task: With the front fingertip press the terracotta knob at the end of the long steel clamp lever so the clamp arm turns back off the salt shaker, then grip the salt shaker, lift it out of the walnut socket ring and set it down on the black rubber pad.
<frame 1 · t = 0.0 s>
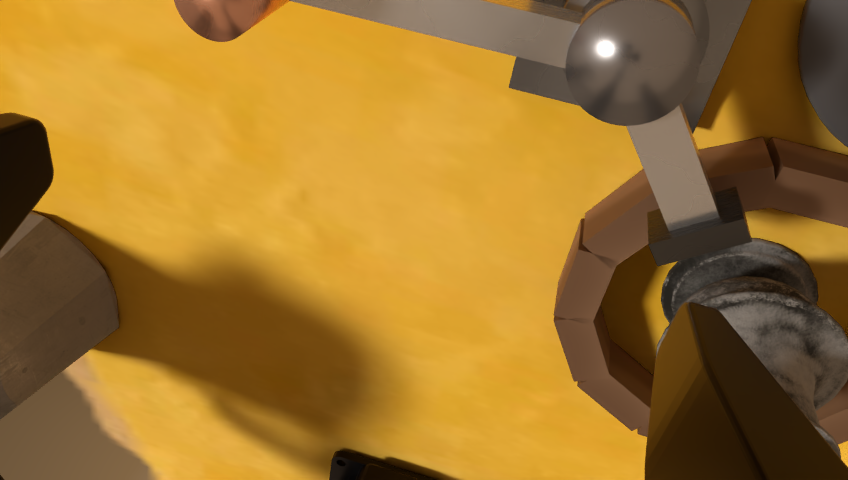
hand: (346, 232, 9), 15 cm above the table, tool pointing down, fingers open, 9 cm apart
socket ring: (736, 297, 25), on the table
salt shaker: (736, 293, 26), resting in socket ring
pivot block: (630, 13, 21), on the table
coffeepot: (53, 292, 35), on the table
clamp: (489, 111, 18), point 5 cm above the table, hinge at 0.0°
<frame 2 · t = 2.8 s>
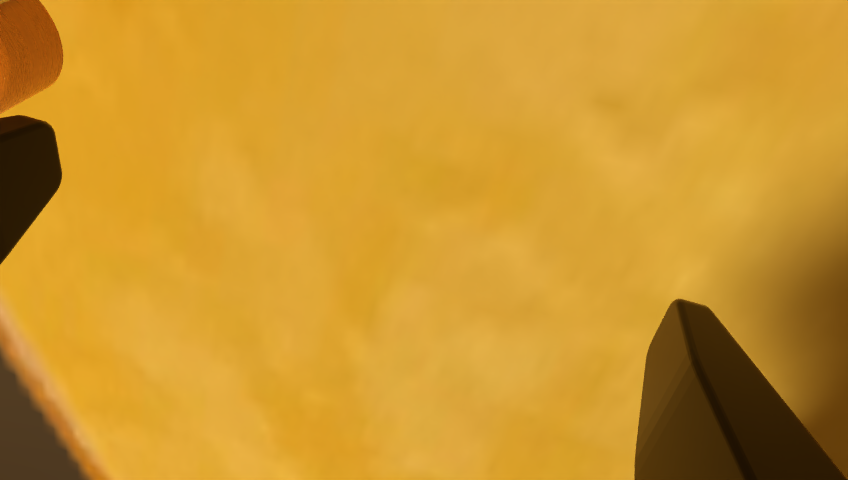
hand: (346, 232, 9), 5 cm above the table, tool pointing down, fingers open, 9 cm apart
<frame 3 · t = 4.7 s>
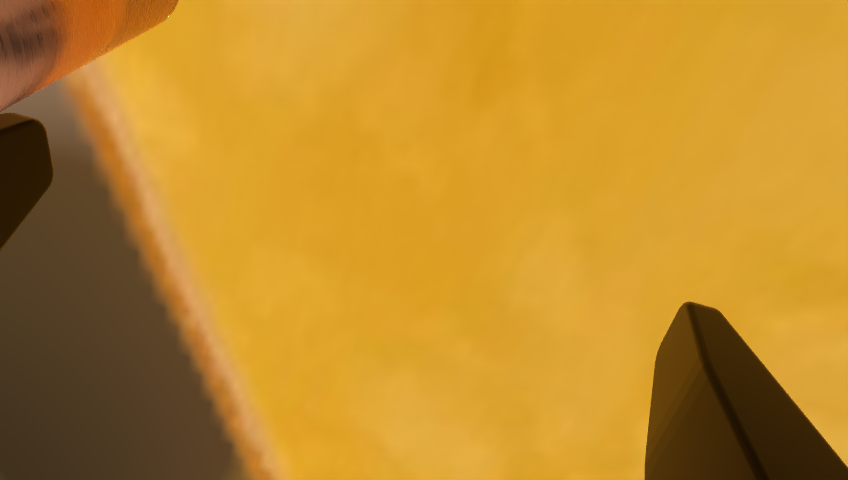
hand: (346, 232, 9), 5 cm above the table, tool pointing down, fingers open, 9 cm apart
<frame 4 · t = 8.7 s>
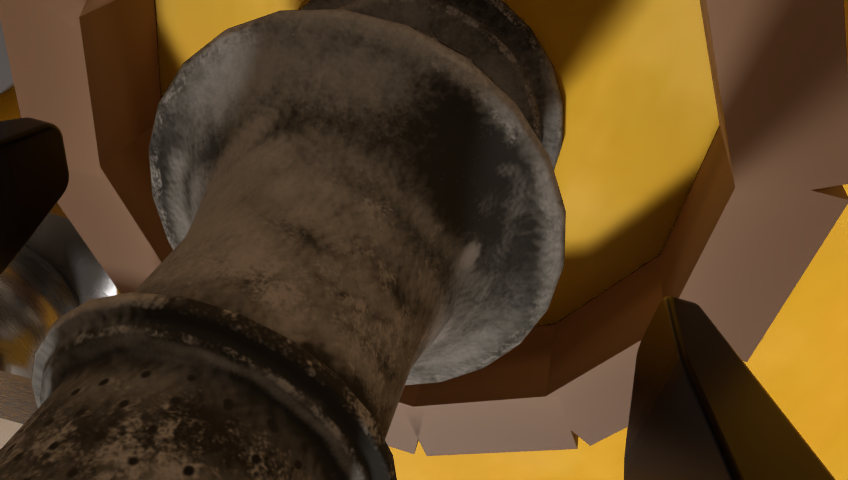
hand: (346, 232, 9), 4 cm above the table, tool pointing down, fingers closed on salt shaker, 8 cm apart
socket ring: (412, 121, 12), on the table
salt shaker: (415, 116, 12), resting in socket ring, touching gripper
pivot block: (26, 280, 17), on the table
when the fingers open (5 cm above the table, at t = 13.1 s): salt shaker drops 1 cm, resting on pad.
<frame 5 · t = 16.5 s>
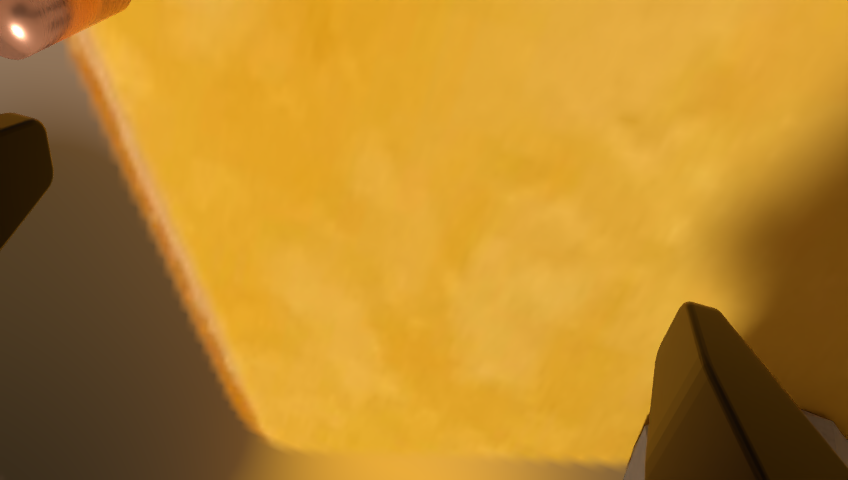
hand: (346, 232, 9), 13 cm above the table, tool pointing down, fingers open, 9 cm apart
coffeepot: (768, 469, 28), on the table
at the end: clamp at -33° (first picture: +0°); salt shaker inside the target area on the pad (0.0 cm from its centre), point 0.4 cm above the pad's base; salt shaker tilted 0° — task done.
